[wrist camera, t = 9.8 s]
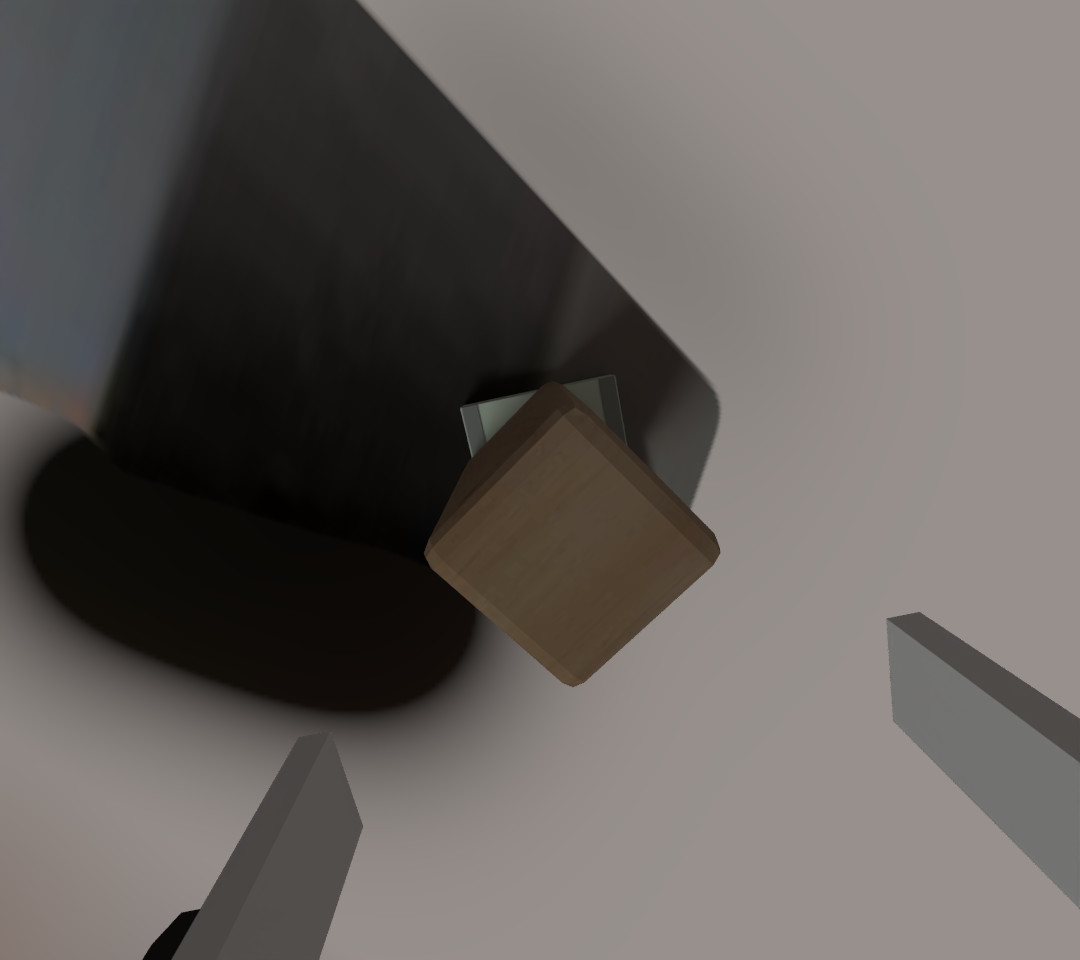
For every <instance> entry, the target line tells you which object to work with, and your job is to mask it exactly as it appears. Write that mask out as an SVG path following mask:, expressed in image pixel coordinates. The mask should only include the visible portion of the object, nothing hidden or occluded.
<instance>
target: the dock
mask: <svg viewBox="0 0 1080 960" xmlns="http://www.w3.org/2000/svg"><path fill="white" fill-rule="evenodd" d="M562 385H563V386H565V387H566V388H567V389H568V390H569V391H570V392H572V393H573V394H574V395H575V396H576V397H577V398H579V399H580V400H581V401H582V402H583V403H585V404H586V405H587V406H588V407H589V408H590V409H591V410H592V411H593V412H594V413H595V414H596V415H597V416H598V417H599V418H600V419H601V420H602V421H603V422H604V423H605V424H606V425H607V426H608V427H609V428H610V429H611V430H612V431H613V432H614V433H615V434H616V435H617V436H618V437H619V438H620V439H621V440H622V441H623V442H624V443H625V444H626V445H627V441H626V435H625V429H624V423H623V417H622V412H621V406H620V400H619V394H618V389H617V383H616V377H615V375H611V374H609V375H604V376H600V377H595V378H590V379H585V380H581V381H576V382H571V383H566V384H562ZM536 391H537V390H533V391H528V392H524V393H519V394H514V395H509V396H505V397H500V398H495V399H491V400H486V401H481V402H476V403H472V404H467V405H463V406H462V407H461V408H460V409H461V413H462V417H463V422H464V426H465V430H466V434H467V438H468V443H469V447H470V451H471V455H472V457H473V456H474V455H475V454H476V453H477V452H478V451H479V450H480V449H481V448H482V447H483V446H484V445H485V444H486V443H487V442H488V441H489V440H490V439H491V438H492V437H493V436H494V435H495V434H496V433H497V432H498V431H499V429H500V428H501V427H502V426H503V425H504V424H505V423H506V422H507V421H508V420H509V419H510V418H511V417H512V416H513V415H514V414H515V413H516V412H517V411H518V410H519V409H520V408H521V407H522V406H523V405H524V404H525V403H526V402H527V401H528V400H529V399H530V398H531V397H532V396H533V395H534V394H535V392H536Z"/></svg>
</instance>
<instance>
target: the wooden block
mask: <svg viewBox="0 0 1080 960" xmlns="http://www.w3.org/2000/svg"><path fill="white" fill-rule="evenodd" d="M719 554H720V548H719V545H718V542H717V539H716V537H715V534H714V533H713V532H712V531H711V530H710V529H709V528H708V527H707V526H706V525H705V524H704V523H703V522H702V521H701V520H700V519H699V518H698V517H697V516H696V515H695V514H694V513H693V512H692V511H691V510H690V509H689V508H688V507H687V506H686V505H685V504H684V503H683V501H682V500H681V499H680V498H679V497H678V496H677V495H676V494H675V493H674V492H673V491H672V490H671V489H670V488H669V487H668V486H667V485H666V484H665V483H664V482H663V481H662V480H661V479H660V478H659V477H658V476H657V475H656V474H655V473H654V472H653V471H652V470H651V469H650V468H649V467H648V466H647V465H646V464H645V463H644V462H643V461H642V460H641V459H640V458H639V457H638V456H637V455H636V454H635V453H634V452H633V451H632V450H631V449H630V448H629V447H628V446H627V445H626V444H625V443H624V442H623V441H622V440H621V439H620V438H619V437H618V436H617V435H616V434H615V433H614V432H613V431H612V430H611V429H610V428H609V427H608V426H607V425H606V424H605V423H604V422H603V421H602V420H601V419H600V418H599V417H598V416H597V415H596V414H595V413H594V412H593V411H592V410H591V409H590V408H589V407H588V406H587V405H586V404H585V403H583V402H582V401H581V400H580V399H579V398H577V397H576V396H575V395H574V394H573V393H572V392H570V391H569V390H568V389H567V388H566V387H565V386H563V385H562V384H560V383H557V382H555V381H551V382H548V383H546V384H544V385H542V386H541V387H540V388H539V389H538V390H537V391H536V392H535V394H534V395H533V396H532V397H531V398H530V399H529V400H528V401H527V402H526V403H525V404H524V405H523V406H522V407H521V408H520V409H519V410H518V411H517V412H516V413H515V414H514V415H513V416H512V417H511V418H510V419H509V420H508V421H507V422H506V423H505V424H504V425H503V426H502V427H501V428H500V429H499V431H498V432H497V433H496V434H495V435H494V436H493V437H492V438H491V439H490V440H489V441H488V442H487V443H486V444H485V445H484V446H483V447H482V448H481V449H480V450H479V451H478V452H477V453H476V454H475V455H474V456H473V457H472V458H471V459H470V460H469V462H468V464H467V466H466V468H465V469H464V471H463V473H462V475H461V477H460V479H459V481H458V483H457V485H456V487H455V489H454V491H453V493H452V495H451V497H450V499H449V501H448V503H447V505H446V507H445V509H444V511H443V513H442V515H441V517H440V519H439V521H438V523H437V525H436V527H435V529H434V531H433V533H432V535H431V537H430V539H429V542H428V544H427V547H426V549H425V552H424V555H425V557H426V559H427V560H428V562H429V564H430V566H431V568H432V569H433V570H434V571H435V572H436V573H437V574H439V575H440V576H441V577H442V578H443V579H445V580H446V581H447V582H448V583H449V584H450V585H451V586H452V587H453V588H455V589H456V590H457V591H458V592H459V593H460V594H461V595H463V596H464V597H465V598H466V599H467V600H468V601H470V602H471V603H472V604H473V605H474V606H475V607H476V608H477V609H479V610H480V611H481V612H482V613H483V614H484V615H486V616H487V617H488V618H489V619H490V620H491V621H492V622H494V623H495V624H496V625H497V626H498V627H499V628H500V629H502V630H503V631H504V632H505V633H506V634H507V635H508V636H509V637H511V638H512V639H513V640H514V641H515V642H516V643H517V644H519V645H520V646H521V647H522V648H523V649H525V650H526V651H527V652H528V653H529V654H530V655H531V656H532V657H534V658H535V659H536V660H537V661H538V662H539V663H540V664H542V665H543V666H544V667H545V668H546V669H547V670H549V671H550V672H551V673H552V674H553V675H554V676H555V677H556V678H558V679H559V680H560V681H561V682H562V683H564V684H567V685H569V686H572V687H574V686H577V685H579V684H582V683H584V682H585V681H586V680H587V679H588V678H589V677H591V676H592V675H593V674H594V673H595V672H596V671H597V670H598V669H599V668H601V666H603V665H604V664H605V663H606V662H607V661H608V660H609V659H611V658H612V657H613V656H614V655H615V654H616V653H617V652H618V651H619V650H620V649H622V648H623V647H624V646H625V645H626V644H627V643H628V642H629V641H630V640H631V639H633V638H634V637H635V636H636V635H637V634H638V633H639V632H640V631H641V630H642V629H643V628H645V627H646V626H647V625H648V624H649V623H650V622H651V621H652V620H653V619H654V618H656V617H657V616H658V615H659V614H660V613H661V612H662V611H663V610H664V609H666V608H667V607H668V606H669V605H670V604H671V603H672V602H673V601H674V600H675V599H677V598H678V597H679V596H680V595H681V594H682V593H683V592H684V591H685V590H686V589H687V588H689V587H690V586H691V585H692V584H693V583H694V582H695V581H696V580H697V579H699V577H701V576H702V575H703V574H704V573H705V572H706V571H707V570H708V569H710V568H711V567H712V566H713V565H714V563H715V561H716V559H717V558H718V556H719Z"/></svg>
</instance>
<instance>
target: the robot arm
mask: <svg viewBox="0 0 1080 960" xmlns="http://www.w3.org/2000/svg"><path fill="white" fill-rule="evenodd" d="M887 634H888V649H889V665H890V681H891V696H892V711H893V721H894V722H895V723H896V724H897V725H898V726H899V727H900V728H901V729H902V730H903V731H904V732H905V733H906V734H907V735H908V736H909V737H910V738H911V739H912V740H913V741H914V742H915V743H916V744H917V745H918V746H919V747H920V748H921V749H922V750H923V752H925V753H926V754H927V755H928V757H929V758H930V759H931V760H933V762H934V763H936V764H937V766H938V767H939V768H940V769H941V770H942V771H943V772H944V773H945V774H946V775H947V776H948V777H949V778H950V779H951V780H952V781H953V782H954V783H955V784H956V785H957V786H958V787H959V788H960V789H961V790H962V791H963V792H965V794H966V795H967V796H968V797H969V798H970V799H971V800H972V801H973V802H974V803H975V804H976V805H977V806H978V807H979V808H980V809H981V810H982V811H983V812H984V813H985V814H986V815H987V816H988V817H989V818H990V819H991V820H992V821H993V822H994V823H995V824H996V825H997V826H998V827H999V828H1000V829H1001V830H1002V831H1003V832H1004V833H1005V834H1006V835H1007V836H1008V837H1009V838H1010V839H1011V840H1012V841H1013V842H1014V843H1015V844H1016V845H1017V846H1018V847H1019V848H1020V849H1021V850H1022V851H1023V852H1024V853H1025V854H1026V855H1027V856H1028V857H1029V858H1030V859H1031V860H1032V861H1033V862H1034V863H1035V864H1036V865H1037V866H1038V867H1039V868H1040V869H1041V870H1042V871H1043V872H1044V873H1045V874H1046V875H1047V876H1048V877H1049V878H1050V879H1051V880H1052V881H1053V882H1054V883H1055V884H1056V885H1057V887H1058V888H1059V889H1060V890H1062V891H1063V893H1065V895H1067V897H1069V898H1070V900H1071V901H1072V902H1073V903H1074V904H1075V905H1076V906H1077V907H1078V908H1079V909H1080V719H1079V718H1078V717H1076V716H1075V715H1073V714H1071V713H1070V712H1069V711H1067V710H1066V709H1064V708H1063V707H1061V706H1060V705H1058V704H1057V703H1055V702H1054V701H1052V700H1051V699H1049V698H1048V697H1046V696H1045V695H1043V694H1042V693H1040V692H1039V691H1037V690H1036V689H1034V688H1033V687H1031V686H1030V685H1028V684H1027V683H1025V682H1024V681H1022V680H1021V679H1019V678H1018V677H1016V676H1015V675H1013V674H1012V673H1010V672H1009V671H1007V670H1005V669H1004V668H1003V667H1001V666H1000V665H998V664H997V663H995V662H994V661H992V660H991V659H989V658H988V657H986V656H985V655H983V654H982V653H980V652H979V651H977V650H975V649H974V648H973V647H971V646H970V645H968V644H967V643H965V642H964V641H962V640H961V639H959V638H958V637H956V636H955V635H953V634H952V633H950V632H949V631H947V630H946V629H944V628H943V627H941V626H940V625H938V624H937V623H935V622H934V621H932V620H931V619H929V618H928V617H926V616H925V615H923V614H922V613H920V612H918V613H913V614H907V615H903V616H897V617H892V618H887ZM362 828H363V825H362V822H361V819H360V816H359V813H358V810H357V807H356V804H355V801H354V799H353V796H352V792H351V790H350V787H349V784H348V781H347V778H346V775H345V772H344V769H343V766H342V763H341V761H340V757H339V754H338V752H337V749H336V746H335V743H334V740H333V737H332V734H331V732H330V731H328V732H323V733H318V734H313V735H308V736H303V737H299V738H298V739H297V741H296V743H295V745H294V747H293V748H292V750H291V752H290V754H289V755H288V757H287V759H286V760H285V762H284V764H283V766H282V767H281V769H280V771H279V773H278V775H277V776H276V778H275V780H274V781H273V783H272V785H271V787H270V788H269V790H268V792H267V794H266V795H265V797H264V799H263V801H262V803H261V804H260V806H259V808H258V809H257V811H256V813H255V815H254V816H253V818H252V820H251V822H250V823H249V825H248V827H247V829H246V830H245V832H244V834H243V836H242V837H241V839H240V841H239V843H238V844H237V846H236V848H235V850H234V851H233V853H232V855H231V857H230V858H229V860H228V862H227V864H226V866H225V867H224V869H223V871H222V872H221V874H220V876H219V878H218V879H217V881H216V883H215V885H214V886H213V888H212V890H211V892H210V894H209V895H208V897H207V899H206V900H205V902H204V904H203V905H202V907H201V909H198V910H193V911H188V912H183V913H181V914H180V915H179V916H178V917H177V918H176V919H175V920H174V921H173V922H172V923H171V925H169V927H168V928H167V929H166V930H165V931H164V932H163V933H162V934H161V935H160V936H159V937H158V938H157V940H156V941H155V942H154V943H153V944H152V945H151V947H150V948H149V950H148V951H147V953H146V955H145V956H144V958H143V960H319V958H320V955H321V951H322V949H323V946H324V942H325V940H326V936H327V934H328V930H329V927H330V924H331V921H332V918H333V915H334V912H335V909H336V906H337V903H338V900H339V897H340V894H341V891H342V888H343V885H344V882H345V879H346V876H347V873H348V870H349V867H350V864H351V861H352V858H353V855H354V852H355V849H356V846H357V843H358V840H359V837H360V834H361V831H362Z"/></svg>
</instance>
